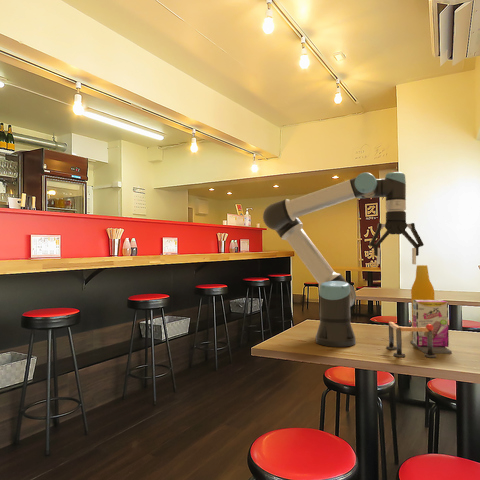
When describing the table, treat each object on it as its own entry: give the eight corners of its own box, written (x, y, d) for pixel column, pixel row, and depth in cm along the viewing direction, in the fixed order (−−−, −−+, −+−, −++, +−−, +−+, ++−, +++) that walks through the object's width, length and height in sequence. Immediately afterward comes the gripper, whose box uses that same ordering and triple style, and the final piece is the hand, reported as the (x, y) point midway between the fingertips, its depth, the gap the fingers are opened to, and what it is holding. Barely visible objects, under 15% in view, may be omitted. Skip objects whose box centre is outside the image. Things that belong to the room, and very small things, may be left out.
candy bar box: (417, 347, 140) (416, 301, 141) (412, 343, 145) (411, 299, 146) (450, 347, 139) (448, 301, 140) (444, 344, 144) (442, 299, 145)
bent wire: (395, 357, 131) (394, 324, 131) (385, 347, 144) (384, 317, 144) (438, 358, 129) (437, 325, 129) (423, 347, 142) (423, 318, 143)
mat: (424, 353, 135) (424, 350, 135) (410, 342, 150) (410, 340, 150) (451, 353, 134) (451, 351, 134) (435, 343, 149) (435, 341, 149)
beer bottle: (422, 335, 164) (420, 265, 164) (407, 331, 172) (405, 265, 173) (440, 333, 166) (438, 265, 167) (424, 329, 175) (423, 264, 176)
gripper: (364, 210, 156) (365, 264, 155) (431, 209, 151) (432, 264, 151) (362, 212, 163) (362, 263, 162) (426, 211, 159) (426, 264, 158)
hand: (396, 264), depth 157 cm, fingers open, 13 cm apart
